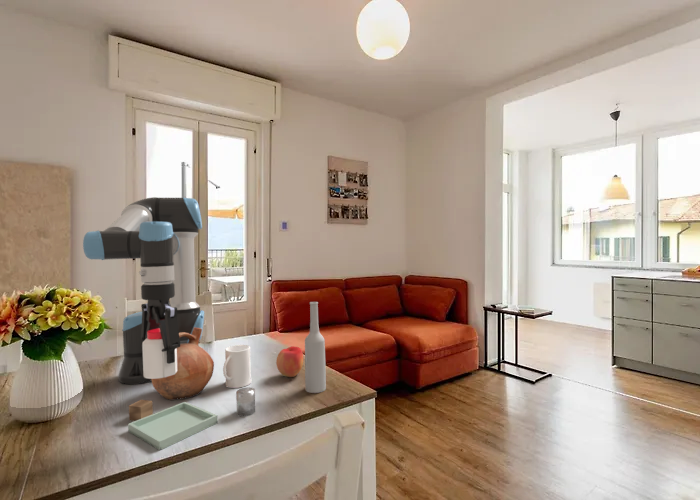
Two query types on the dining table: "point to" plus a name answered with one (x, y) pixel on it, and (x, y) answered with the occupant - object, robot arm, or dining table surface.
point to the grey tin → (245, 401)
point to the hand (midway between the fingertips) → (160, 372)
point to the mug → (237, 366)
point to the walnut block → (140, 409)
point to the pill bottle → (154, 355)
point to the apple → (290, 361)
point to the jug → (187, 370)
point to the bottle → (315, 355)
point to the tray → (172, 425)
